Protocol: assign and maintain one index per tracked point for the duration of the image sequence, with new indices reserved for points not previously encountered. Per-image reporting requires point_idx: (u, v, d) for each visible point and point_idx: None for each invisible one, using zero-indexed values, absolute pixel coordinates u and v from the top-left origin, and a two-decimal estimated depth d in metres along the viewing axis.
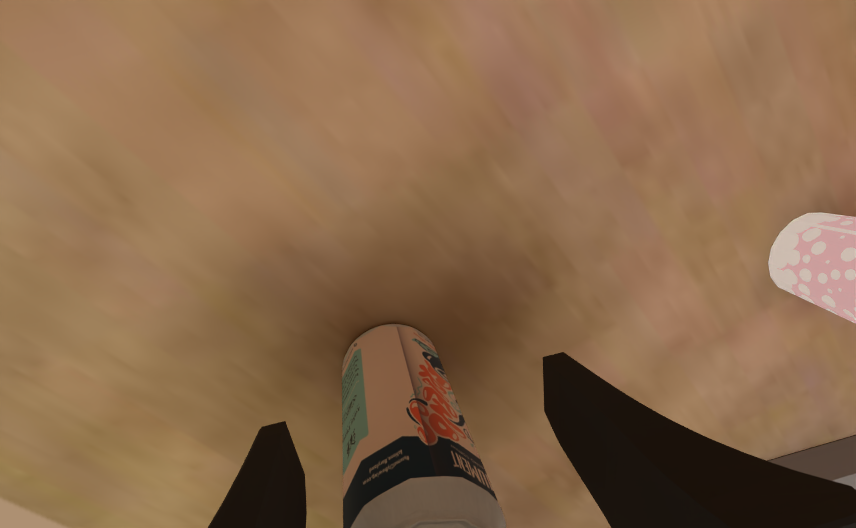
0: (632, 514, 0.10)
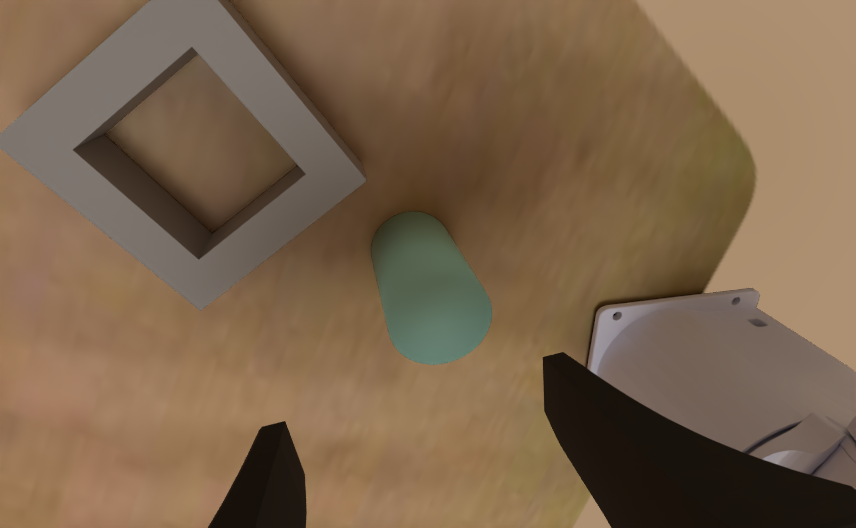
0: (632, 514, 0.10)
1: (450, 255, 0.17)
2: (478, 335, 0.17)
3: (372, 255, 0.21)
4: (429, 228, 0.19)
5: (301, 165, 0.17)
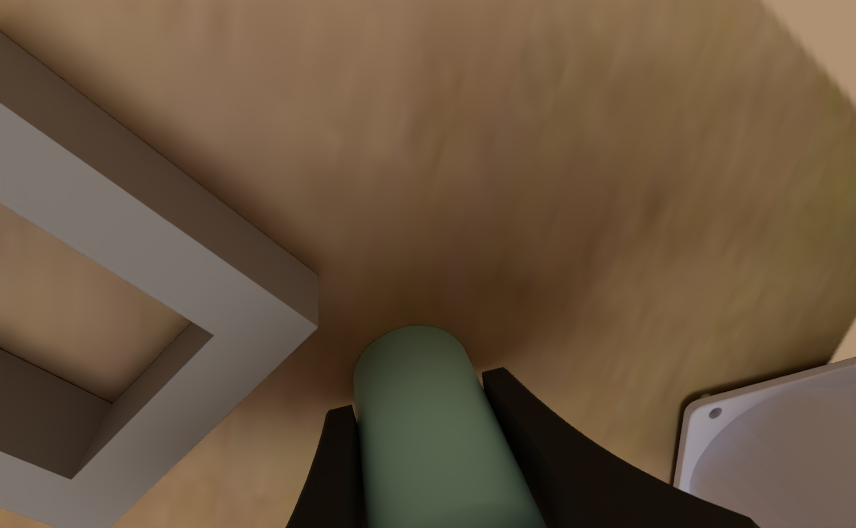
0: None
1: (469, 437, 0.10)
2: None
3: None
4: (431, 366, 0.12)
5: (202, 324, 0.10)
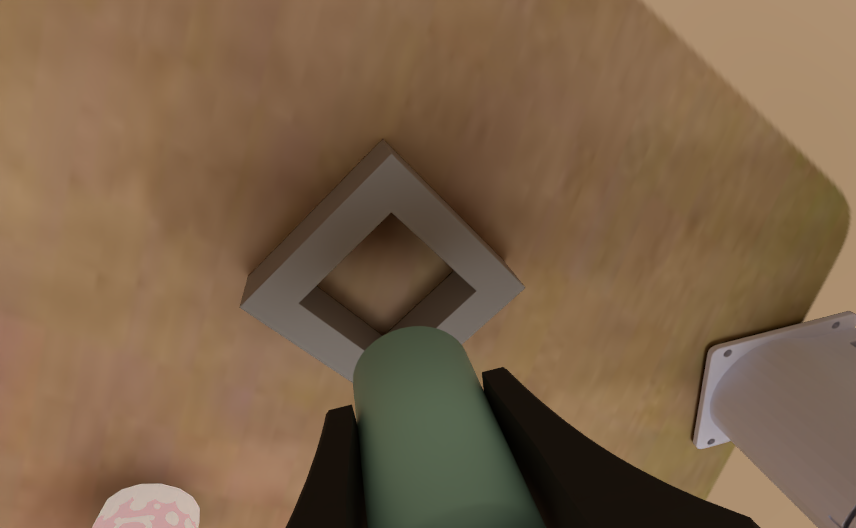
0: None
1: (466, 437, 0.10)
2: None
3: None
4: (429, 366, 0.12)
5: (473, 285, 0.20)
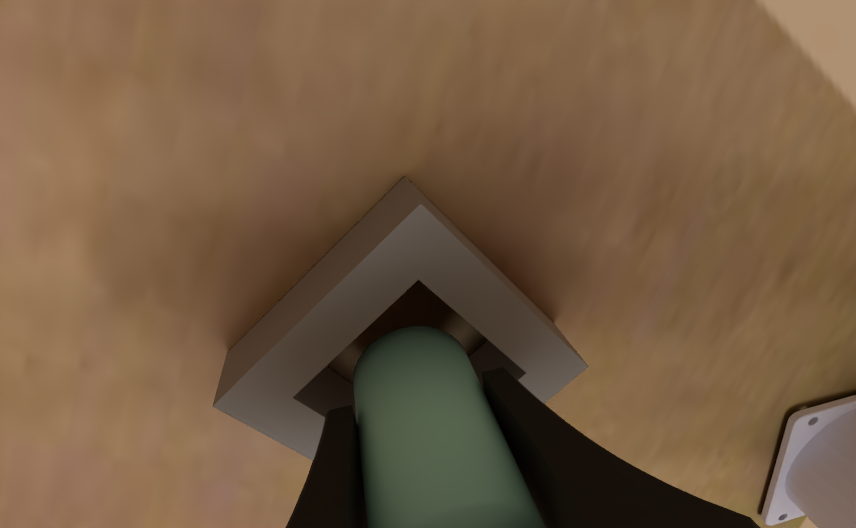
0: None
1: (466, 437, 0.10)
2: None
3: None
4: (429, 366, 0.12)
5: (522, 366, 0.15)
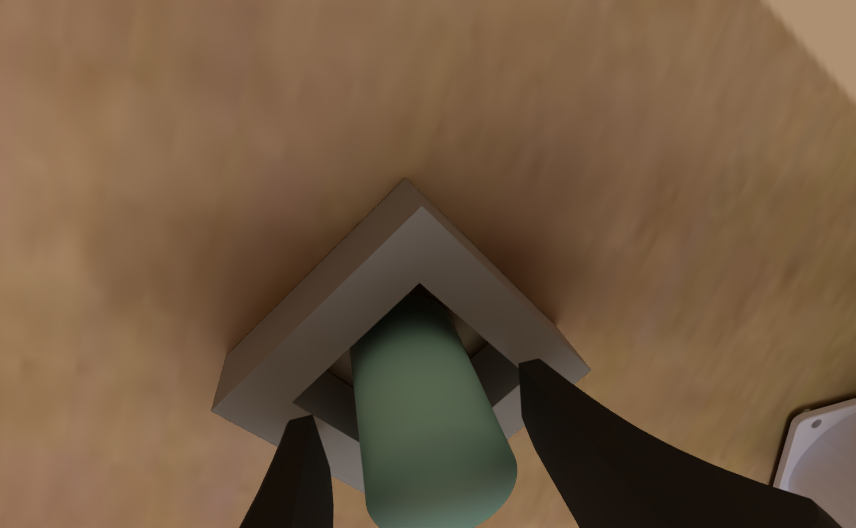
0: (601, 523, 0.10)
1: (446, 380, 0.12)
2: (501, 493, 0.12)
3: None
4: (416, 326, 0.14)
5: None
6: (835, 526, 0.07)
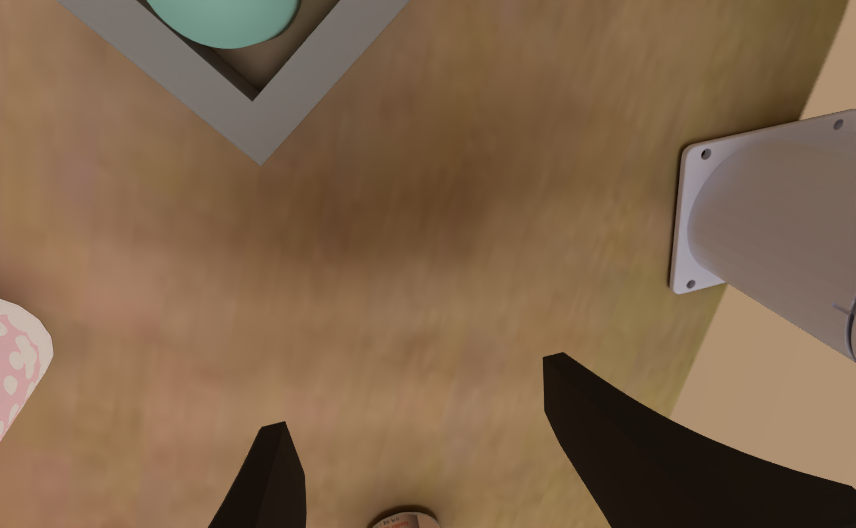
0: (632, 514, 0.10)
1: None
2: None
3: None
4: None
5: None
6: None
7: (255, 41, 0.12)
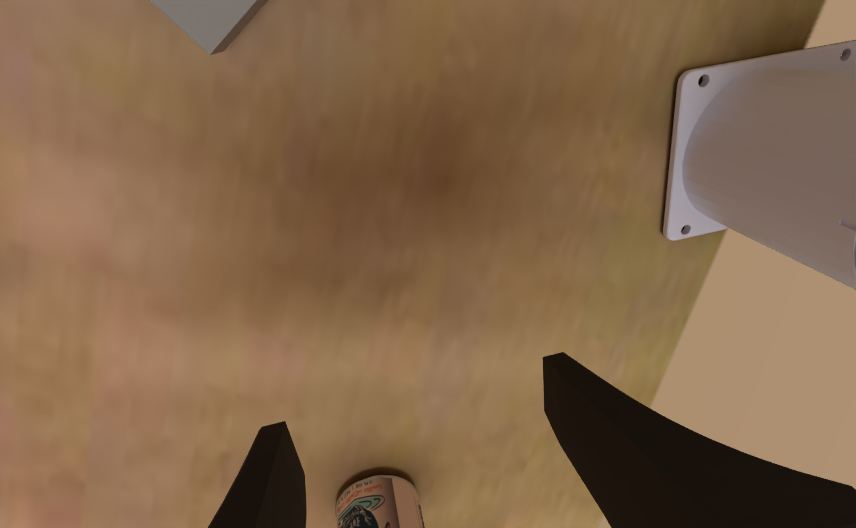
0: (632, 514, 0.10)
1: None
2: None
3: None
4: None
5: None
6: None
7: None
